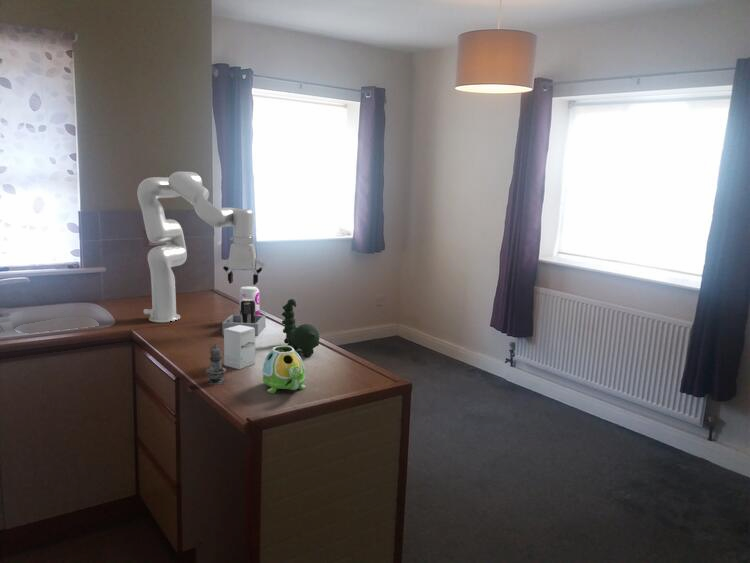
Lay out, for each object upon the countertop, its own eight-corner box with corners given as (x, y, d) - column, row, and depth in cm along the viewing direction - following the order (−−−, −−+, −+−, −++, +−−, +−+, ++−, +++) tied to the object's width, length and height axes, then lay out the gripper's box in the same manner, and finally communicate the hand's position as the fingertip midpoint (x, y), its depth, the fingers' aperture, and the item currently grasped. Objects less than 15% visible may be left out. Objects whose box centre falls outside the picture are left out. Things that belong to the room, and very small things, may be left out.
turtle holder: (276, 403, 161) (276, 362, 159) (257, 382, 177) (256, 345, 175) (317, 396, 167) (317, 356, 165) (295, 377, 183) (295, 340, 181)
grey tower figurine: (208, 378, 180) (207, 340, 177) (227, 378, 180) (226, 340, 178) (204, 384, 174) (203, 346, 172) (224, 384, 174) (223, 346, 172)
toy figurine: (276, 348, 217) (303, 361, 196) (274, 298, 215) (301, 306, 194) (299, 345, 222) (328, 357, 201) (298, 296, 220) (326, 303, 199)
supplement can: (261, 320, 252) (261, 286, 249) (256, 324, 244) (255, 290, 241) (243, 319, 253) (243, 285, 250) (237, 324, 245) (236, 289, 242)
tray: (222, 334, 228) (222, 322, 227) (232, 325, 241) (231, 314, 241) (257, 335, 227) (257, 324, 227) (265, 326, 241) (265, 315, 240)
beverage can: (248, 325, 239) (248, 297, 237) (258, 327, 236) (258, 299, 234) (238, 328, 235) (237, 299, 233) (247, 330, 231) (247, 301, 229)
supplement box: (240, 369, 188) (239, 332, 186) (223, 365, 192) (222, 328, 189) (256, 364, 194) (255, 327, 192) (239, 359, 198) (239, 324, 196)
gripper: (218, 240, 224) (218, 284, 228) (262, 243, 224) (262, 286, 227) (223, 238, 232) (224, 280, 235) (266, 240, 231) (266, 282, 235)
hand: (242, 283), depth 231 cm, fingers open, 9 cm apart
